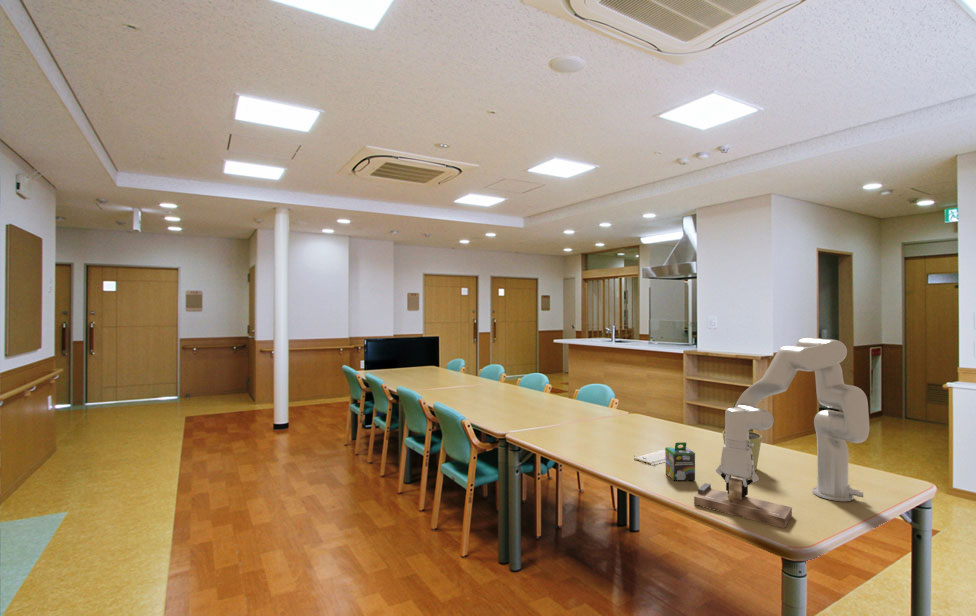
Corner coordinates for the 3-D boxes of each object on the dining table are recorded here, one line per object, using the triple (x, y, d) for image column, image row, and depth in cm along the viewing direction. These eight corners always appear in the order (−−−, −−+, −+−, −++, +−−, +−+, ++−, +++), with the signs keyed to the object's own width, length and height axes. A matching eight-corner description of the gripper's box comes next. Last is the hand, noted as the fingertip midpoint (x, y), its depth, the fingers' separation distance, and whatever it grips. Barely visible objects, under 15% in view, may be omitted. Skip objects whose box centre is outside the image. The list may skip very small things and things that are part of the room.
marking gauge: (745, 500, 175) (745, 478, 175) (736, 510, 166) (736, 487, 166) (733, 497, 177) (733, 475, 177) (723, 507, 168) (724, 484, 168)
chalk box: (686, 473, 206) (686, 438, 206) (696, 481, 197) (696, 444, 197) (664, 473, 206) (664, 438, 206) (673, 481, 197) (673, 445, 197)
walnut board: (791, 516, 164) (791, 502, 164) (784, 528, 155) (784, 514, 155) (705, 495, 183) (705, 483, 183) (694, 504, 174) (694, 492, 174)
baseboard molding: (696, 455, 233) (674, 449, 243) (696, 449, 233) (674, 443, 243) (656, 467, 215) (633, 460, 225) (656, 461, 215) (633, 454, 225)
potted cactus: (717, 467, 213) (717, 399, 213) (728, 459, 225) (728, 394, 224) (756, 476, 203) (756, 404, 203) (765, 467, 214) (766, 399, 214)
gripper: (765, 445, 171) (765, 497, 171) (715, 437, 182) (715, 486, 182) (760, 450, 165) (760, 504, 165) (708, 441, 176) (708, 492, 176)
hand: (736, 494), depth 173 cm, fingers closed on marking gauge, 4 cm apart
